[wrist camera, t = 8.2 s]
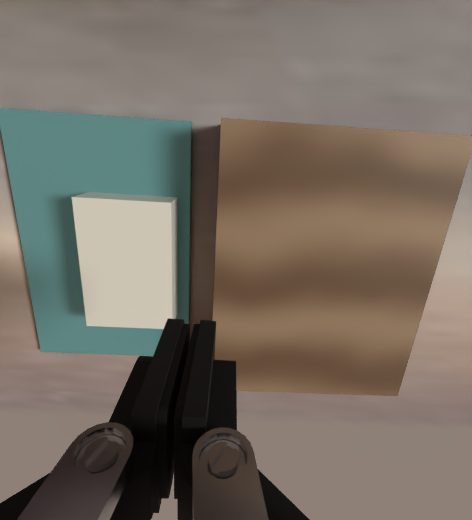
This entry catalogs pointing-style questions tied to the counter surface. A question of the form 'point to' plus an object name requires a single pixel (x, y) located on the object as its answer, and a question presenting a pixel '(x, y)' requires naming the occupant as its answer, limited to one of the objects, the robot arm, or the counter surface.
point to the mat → (62, 218)
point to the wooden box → (328, 251)
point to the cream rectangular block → (127, 258)
